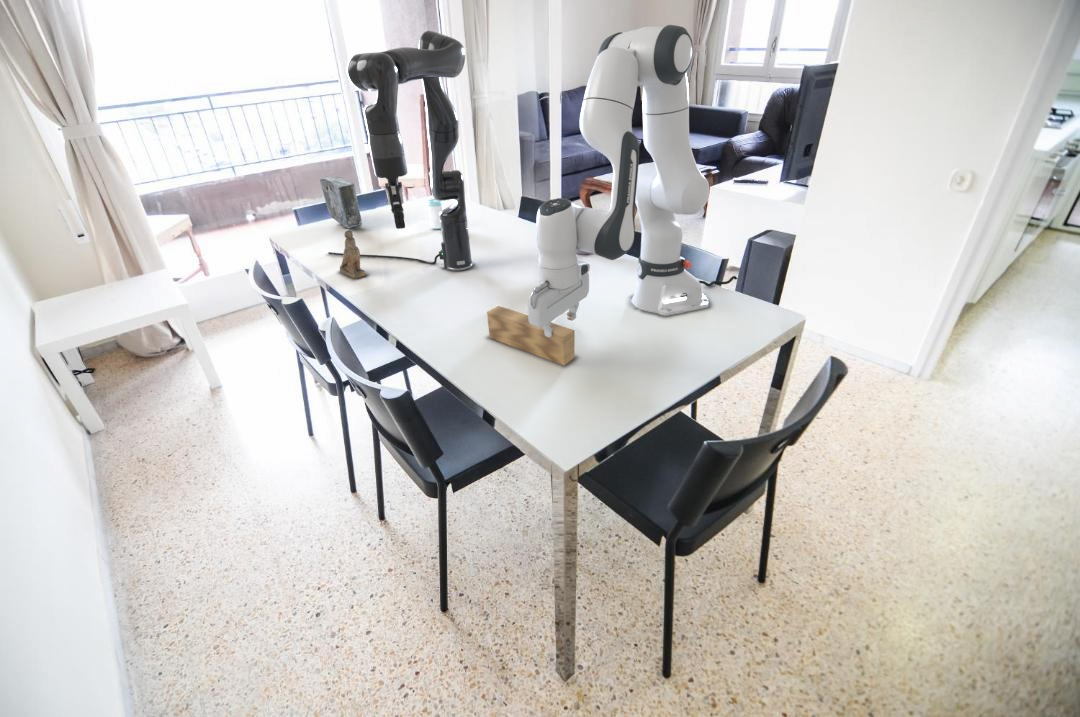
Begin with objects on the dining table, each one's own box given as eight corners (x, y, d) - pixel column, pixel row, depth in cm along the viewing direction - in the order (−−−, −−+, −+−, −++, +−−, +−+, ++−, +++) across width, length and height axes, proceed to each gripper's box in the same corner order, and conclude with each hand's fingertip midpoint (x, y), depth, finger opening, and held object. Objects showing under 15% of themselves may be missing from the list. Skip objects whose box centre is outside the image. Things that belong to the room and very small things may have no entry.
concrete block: (367, 229, 224) (357, 183, 213) (347, 233, 220) (336, 187, 209) (348, 217, 243) (338, 174, 232) (330, 221, 238) (318, 177, 228)
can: (445, 229, 220) (441, 202, 214) (429, 230, 220) (425, 202, 214) (447, 224, 226) (444, 198, 220) (432, 225, 226) (428, 198, 220)
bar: (489, 337, 134) (486, 311, 130) (500, 331, 137) (498, 305, 133) (564, 365, 121) (563, 337, 117) (574, 357, 124) (574, 330, 120)
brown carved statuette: (368, 281, 178) (362, 235, 166) (353, 285, 175) (347, 238, 163) (352, 266, 184) (346, 221, 172) (338, 270, 181) (331, 224, 169)
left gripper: (405, 157, 110) (417, 229, 119) (403, 148, 122) (414, 214, 130) (370, 160, 109) (385, 233, 117) (371, 150, 120) (385, 217, 129)
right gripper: (542, 294, 104) (545, 350, 112) (593, 261, 118) (593, 313, 125) (518, 288, 108) (524, 342, 115) (571, 257, 121) (573, 307, 128)
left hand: (400, 223), depth 124 cm, fingers open, 8 cm apart
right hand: (560, 327), depth 120 cm, fingers open, 8 cm apart
